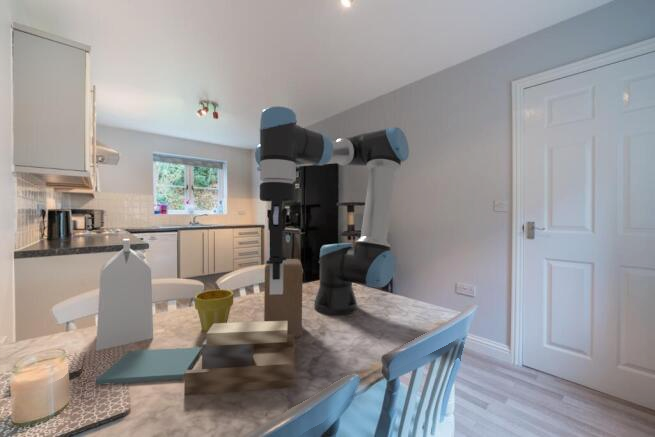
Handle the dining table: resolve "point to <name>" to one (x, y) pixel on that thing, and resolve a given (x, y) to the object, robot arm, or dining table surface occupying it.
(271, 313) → the block
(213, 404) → the dining table surface
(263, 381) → the open wooden box
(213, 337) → the birch bar
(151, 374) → the slate mat
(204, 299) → the plant pot
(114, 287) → the milk
